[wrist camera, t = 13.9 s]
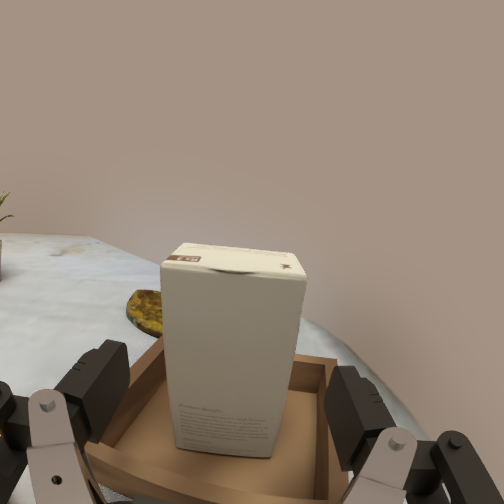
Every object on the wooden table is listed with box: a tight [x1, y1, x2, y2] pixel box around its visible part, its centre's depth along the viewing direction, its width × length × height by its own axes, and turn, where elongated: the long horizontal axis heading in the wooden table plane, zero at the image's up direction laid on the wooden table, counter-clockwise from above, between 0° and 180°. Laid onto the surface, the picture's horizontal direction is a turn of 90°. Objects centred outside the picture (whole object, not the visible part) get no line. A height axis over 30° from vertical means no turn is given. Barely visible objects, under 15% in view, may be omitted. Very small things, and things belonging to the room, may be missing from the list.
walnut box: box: [84, 335, 349, 504], centre depth 16 cm, size 14×14×4 cm
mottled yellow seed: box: [126, 290, 163, 338], centre depth 32 cm, size 9×5×15 cm
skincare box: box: [160, 243, 307, 458], centre depth 15 cm, size 6×4×12 cm
